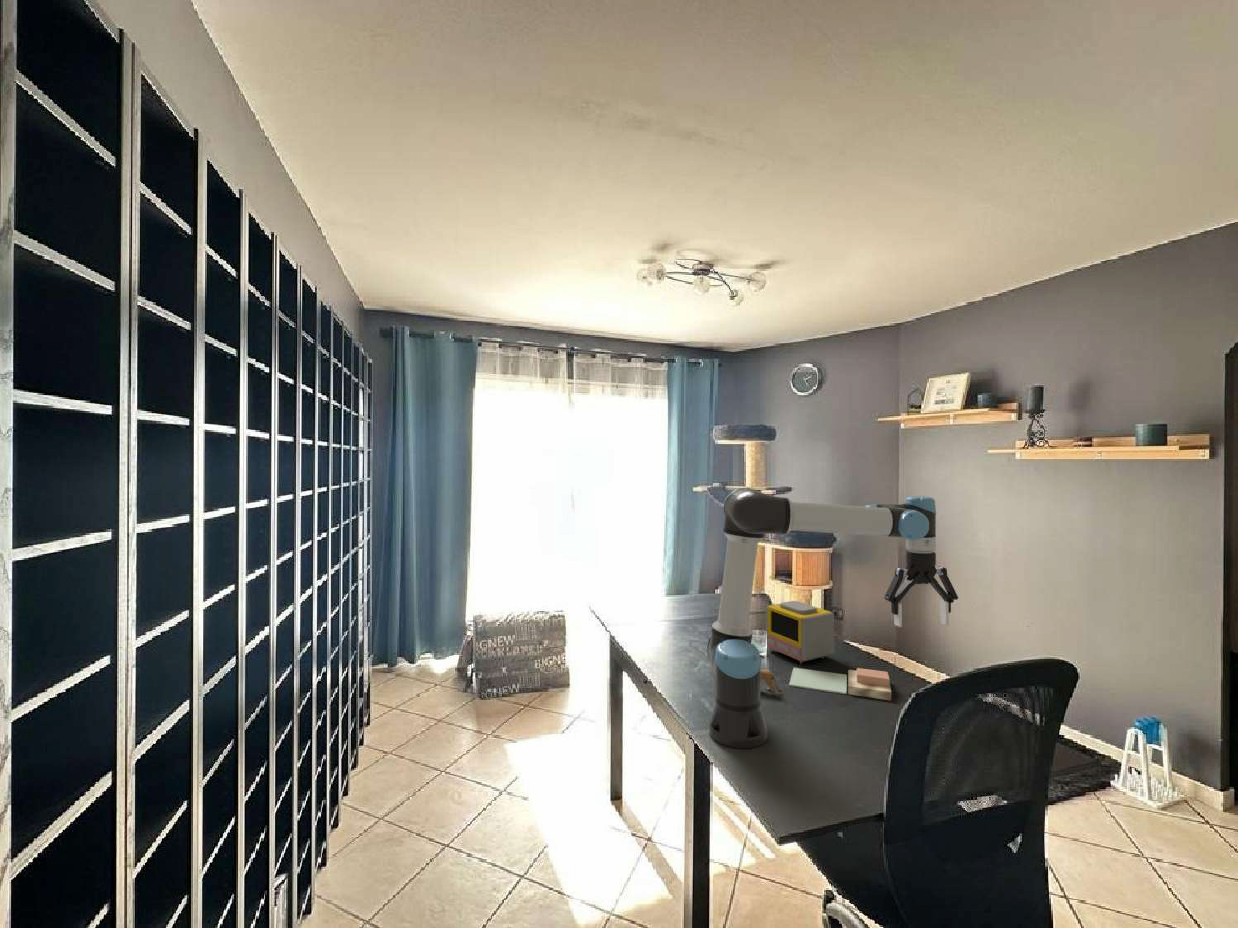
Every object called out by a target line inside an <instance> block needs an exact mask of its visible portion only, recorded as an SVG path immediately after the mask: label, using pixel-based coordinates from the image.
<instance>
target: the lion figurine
mask: <svg viewBox="0 0 1238 928" xmlns="http://www.w3.org/2000/svg"><path fill="white" fill-rule="evenodd" d="M762 681H764V682H765V685H766V686H767V687H766V688H765V690H766V691H770V690H772V691H771V693H770V694H771V695H772V696H775V695H776V694H777V692H779V693H783V690H782V689H780V688H779V687H778V684H777V680H776V677H775V675H774V674H773V672H772V671H771V670H768V669H760V682H762ZM772 681H773V682H772ZM773 683H774V684H773Z"/></svg>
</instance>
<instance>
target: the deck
mask: <svg viewBox="0 0 1238 928" xmlns="http://www.w3.org/2000/svg"><path fill="white" fill-rule="evenodd" d="M847 673H848V675H847V679H848V680H847V682H848V683H847V694H848V695H852V696H859V697H865V698H871V699H872V698H873V699H878V700H886V701H892V688H891V681H890V680H889V687H886V686H879V685H872V684H865V683H858V682H857V670H853V669H848V671H847ZM888 678H889V679H890V676H889V674H888Z"/></svg>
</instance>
